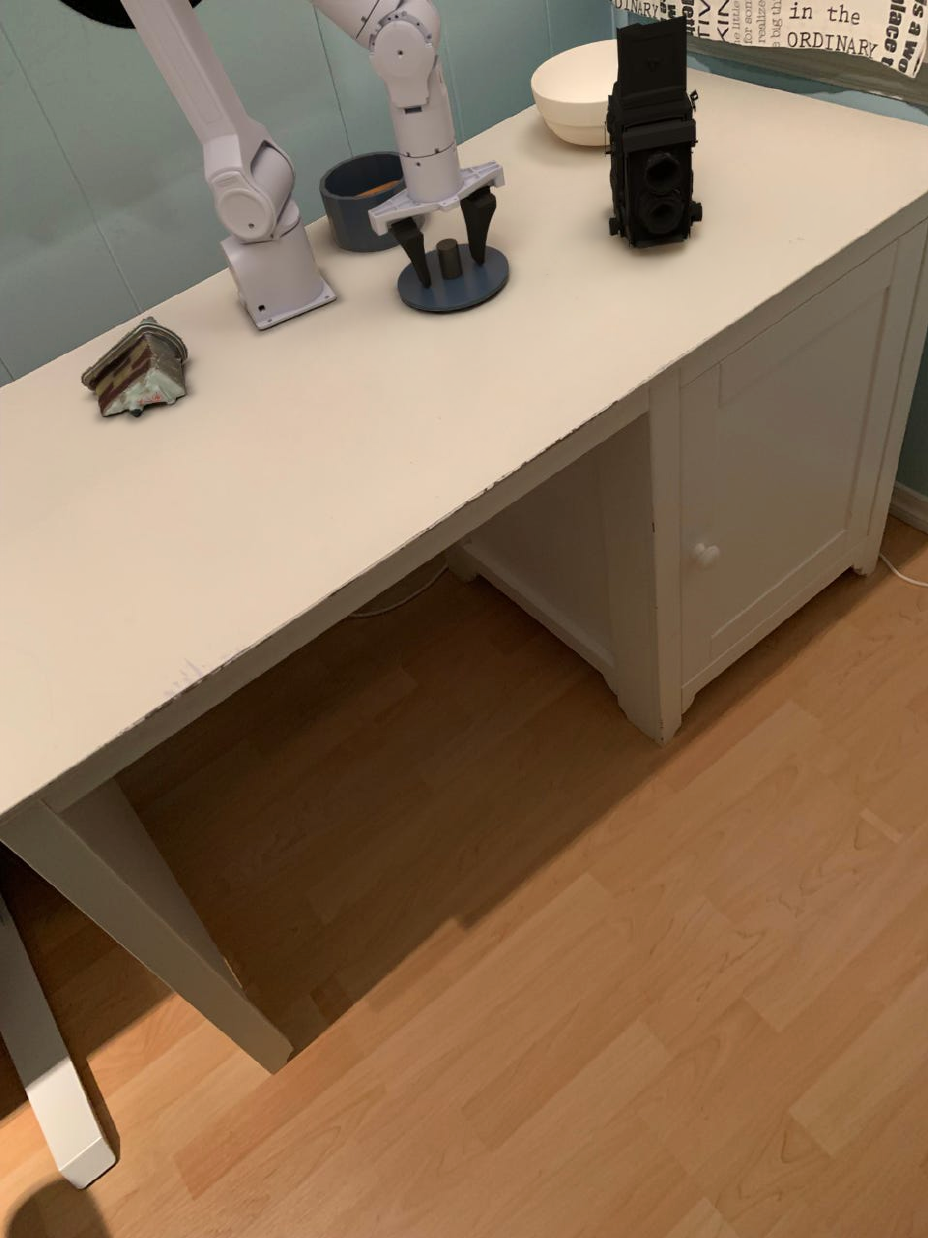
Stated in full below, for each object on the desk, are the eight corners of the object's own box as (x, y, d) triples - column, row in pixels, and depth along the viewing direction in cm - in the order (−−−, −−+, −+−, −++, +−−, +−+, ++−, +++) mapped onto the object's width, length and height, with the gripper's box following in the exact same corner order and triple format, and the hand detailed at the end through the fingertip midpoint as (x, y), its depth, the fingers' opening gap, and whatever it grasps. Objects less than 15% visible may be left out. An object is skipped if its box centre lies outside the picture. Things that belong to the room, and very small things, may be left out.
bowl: (689, 94, 116) (691, 32, 110) (666, 163, 105) (666, 98, 100) (555, 101, 121) (550, 43, 116) (520, 167, 111) (513, 106, 106)
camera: (615, 271, 93) (607, 63, 78) (602, 208, 101) (592, 9, 86) (711, 256, 92) (723, 41, 76) (690, 193, 100) (696, -12, 85)
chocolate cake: (84, 436, 92) (123, 359, 84) (75, 384, 95) (112, 305, 87) (172, 451, 98) (216, 380, 91) (161, 402, 101) (203, 329, 93)
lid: (425, 330, 92) (416, 291, 89) (382, 280, 100) (372, 242, 97) (530, 285, 94) (525, 245, 91) (479, 239, 102) (473, 201, 98)
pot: (353, 263, 104) (337, 210, 99) (322, 225, 111) (306, 174, 106) (439, 227, 105) (428, 173, 100) (403, 193, 112) (391, 141, 107)
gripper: (374, 184, 82) (406, 312, 93) (510, 130, 84) (527, 261, 95) (348, 159, 86) (382, 284, 97) (479, 108, 89) (498, 235, 99)
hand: (451, 271), depth 96 cm, fingers open, 6 cm apart
